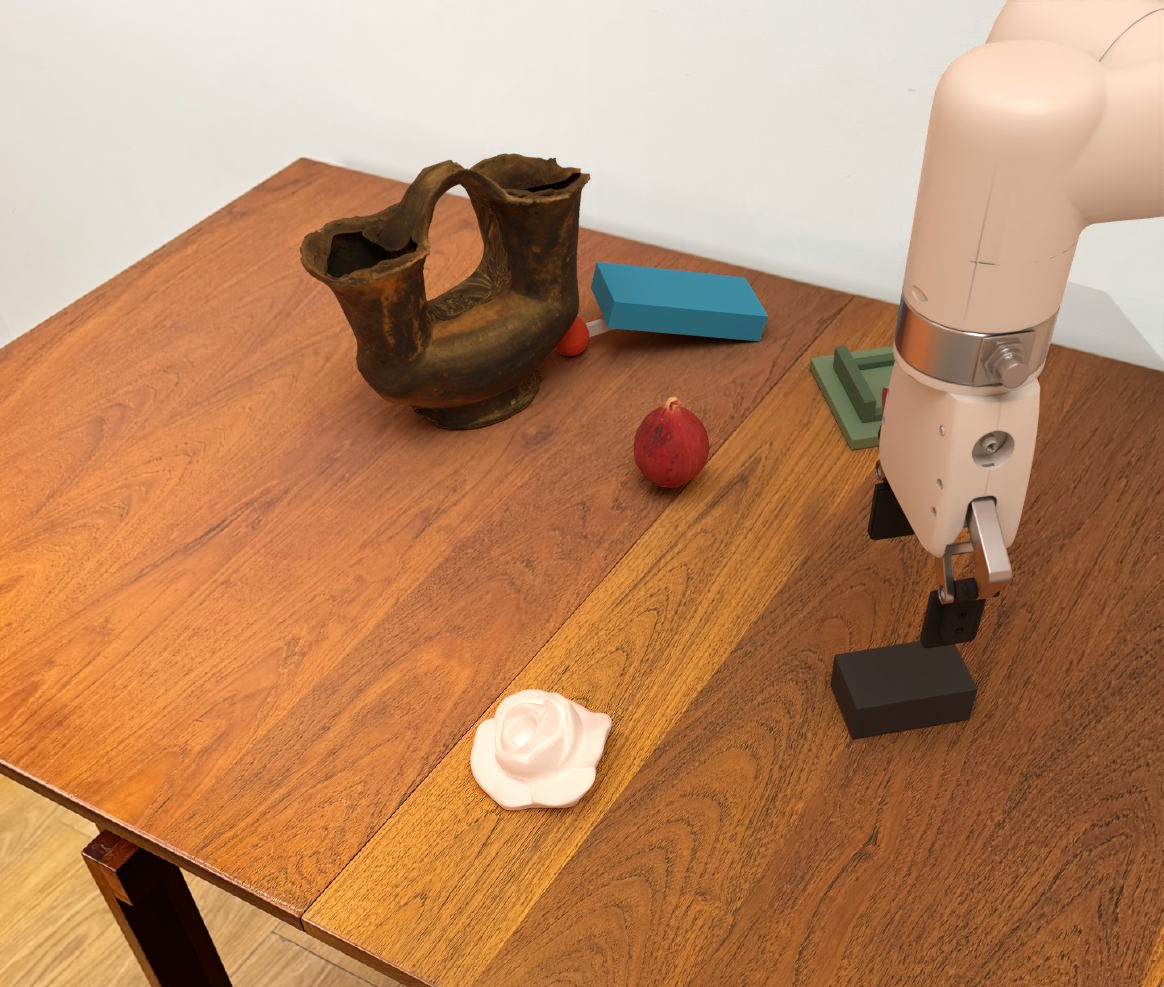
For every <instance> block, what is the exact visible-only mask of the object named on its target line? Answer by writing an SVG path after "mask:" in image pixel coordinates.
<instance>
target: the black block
mask: <svg viewBox="0 0 1164 987" xmlns="http://www.w3.org/2000/svg"><path fill="white" fill-rule="evenodd" d="M829 685H830V688H831V690H832V694H833V696H834V698H835V700H836V703H837V705H838V708H839V710H840V713H841V715H842V718H843V721H844V723H845V725H846V728H847V731H848V732H849V736H850V738H851V740H855V739H861V738H868V737H874V736H880V735H884V734H885V735H886V734H891V733H897V732H904V731H909V730H915V729H921V728H928V727H934V726H939V725H944V724H951V723H956V722H957V723H958V722H963V721H968V720H970V719H971V716H972V711H973V708H974V705H975V701H976V697H977V694H978V686H977V684H976V683H975V681H974V679H973V676H972V675H971V673H970V671H969V669H968V666H967V665H966V663H965V661H964V659H963V657H962V655H961V653H960V651H959V649H958V647H957V644H953V645H946V646H940V647H934V648H924V647H923V646H922V644H921V642H920V640H917V641H910V642H904V643H897V644H891V645H886V646H885V645H884V646H880V647H874V648H873V647H872V648H867V649H861V650H854V651H848V652H842V653H837V654H834V656H833V663H832V671H831V678H830V684H829Z"/></svg>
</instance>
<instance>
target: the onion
mask: <svg viewBox="0 0 1164 987" xmlns="http://www.w3.org/2000/svg"><path fill="white" fill-rule="evenodd" d="M682 404H683V402H682V399H680V398H679V397H677V396H670V397H668V398H667V399H666V401H664V403H663V405H662V406H659V407H657V408H655V409H653V410H652V411H651V412H649V413H648V414H647V415H645V417H644V418H643V420H642V421H641V423H640V424H639V426H638V427H637V429H636V431H635V434H634V436H633V437H634V438H633V458H634V462H635V465H636V466H637V468H638V470H639V471H640V473H641V474H642V475H643V477H644V478H645V479H646V480H648V481H650V482H651V483H653V484H654V485H656V486H658V487H663V488H671V489H675V488H677V487H680V486H682V485H684V484H687V483H689V482H690V481H692V480H693V479H694V478H696V477H697V476H698V475H699V474H700V473H701V472H702V471H703V469H704V467H705V465H706V463H707V461H708V459H709V454H710V448H711V447H710V438H709V435H708V431H707V429H706V427H705V425H704V423H703V422H702V421H701V419H700V418H699V417H698V416H697V415H696V414H695V413H693V411H691V410H689V409H687V408H685V407H683V406H682Z"/></svg>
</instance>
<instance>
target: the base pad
mask: <svg viewBox="0 0 1164 987" xmlns="http://www.w3.org/2000/svg"><path fill="white" fill-rule="evenodd" d="M809 360H810V362H809V369H810V371H811V373H812V375H813V378H814V379H815V381H816V383H817V385H818V387H819V389H820V391H821V393H822V395H823V397H824V399H825V401H826V403H827V405H828V407H829V409H830V411H831V413H832V415H833V417H834V419H835V421H836V424H837V425H838V427H839V429H840V431H841V433H842V435H843V437H844V439H845V442H846V443H847V445H848V447H849V449H850V450H851V451H854V450H859V449H860V450H861V449H866V448H874V447H879V443H880V440H879V438H878V432H879V429H880V425H881V424H882V390H883V387H888V386H889V383H890V379H891V374H892V370H893V366H894V362H895V358H894V355H893V345H889V346H882V347H876V348H869V349H863V350H854V351H850V350H849V348H848V346H847V344H845V345H838V346H835V347H834V353H833V354H827V355H822V356H815V357H810V359H809Z"/></svg>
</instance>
